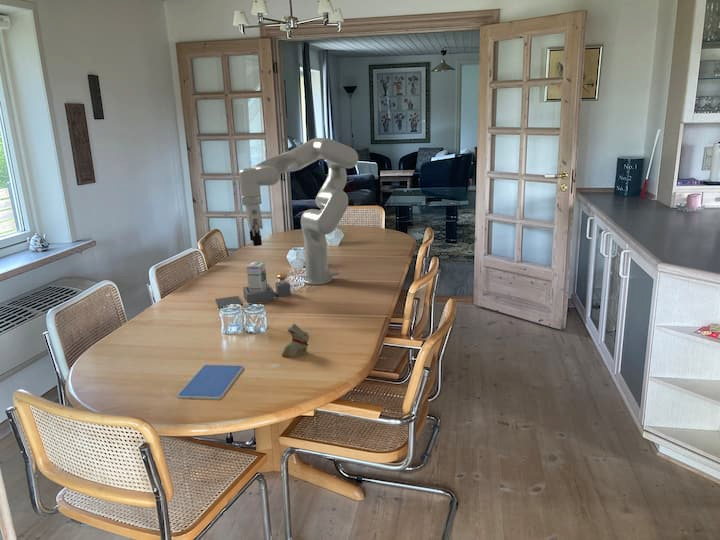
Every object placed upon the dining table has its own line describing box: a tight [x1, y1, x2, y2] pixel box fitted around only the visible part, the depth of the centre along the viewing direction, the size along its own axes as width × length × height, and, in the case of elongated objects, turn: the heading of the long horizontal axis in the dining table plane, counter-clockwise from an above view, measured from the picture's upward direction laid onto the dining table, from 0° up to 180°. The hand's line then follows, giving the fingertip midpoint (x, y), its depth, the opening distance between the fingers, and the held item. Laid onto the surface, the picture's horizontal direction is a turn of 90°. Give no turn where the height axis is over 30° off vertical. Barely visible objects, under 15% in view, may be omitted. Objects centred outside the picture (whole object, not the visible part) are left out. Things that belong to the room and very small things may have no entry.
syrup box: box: [245, 261, 268, 293], centre depth 227 cm, size 6×6×14 cm
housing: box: [242, 280, 292, 304], centre depth 230 cm, size 18×11×5 cm, turn 109°
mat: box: [215, 295, 243, 309], centre depth 225 cm, size 9×11×1 cm
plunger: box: [276, 273, 288, 285], centre depth 231 cm, size 4×4×6 cm
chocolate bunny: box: [281, 323, 310, 358], centre depth 174 cm, size 6×8×10 cm
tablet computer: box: [176, 364, 245, 401], centre depth 159 cm, size 19×13×1 cm, turn 172°
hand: (256, 242), depth 228 cm, fingers open, 9 cm apart
